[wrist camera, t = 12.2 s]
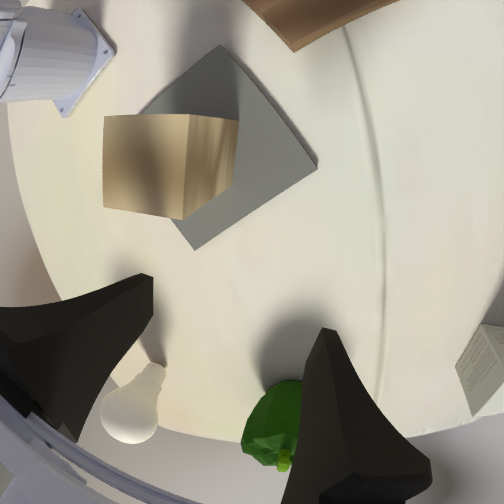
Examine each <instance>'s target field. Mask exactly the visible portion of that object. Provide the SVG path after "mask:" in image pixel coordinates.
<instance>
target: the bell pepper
mask: <svg viewBox="0 0 504 504" xmlns="http://www.w3.org/2000/svg"><path fill="white" fill-rule="evenodd" d="M301 395H302V382H299V381H295V380H288V381H281V382H280V383H278V384H276V385H275V386H273V387H272V388H270V389H269V390H268V391H267V392H266V394H265V395H264V396H263V397H262V398H261V399H260V400H259V402H258V403H257V405H256V406H255V408H254V410H253V411H252V413H251V414H250V416H249V418H248V419H247V423H246V426H245V429H244V432H243V435H242V439H241V446H242V450H243V452H244V453H246V454H249V455H252V456H253V457H254V458H255V459H256V460H258V461H259V462H260V463H261V464H262V465H263V466H273V465H274V466H277V470H278V471H279V472H286V471H287V470H288V469H289V467H290V465H291V466H292V463H293V458H294V454H295V449H296V445H297V440H298V434H299V426H300V411H301Z"/></svg>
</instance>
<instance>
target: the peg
mask: <svg viewBox="0 0 504 504" xmlns="http://www.w3.org/2000/svg"><path fill="white" fill-rule="evenodd" d="M238 128H239V121H236V120H230V119H223V118H215V117H208V116H199V115H190V114H139V115H118V116H104V130H103V205H104V207H106V208H112V209H119V210H125V211H131V212H137V213H143V214H149V215H155V216H161V217H167V218H173V219H178V220H184V219H185V218H186V217H188V216H189V215H191V214H192V213H193V212H195V211H196V210H198V209H199V208H200V207H202V206H203V205H205V204H206V203H207V202H209V201H210V200H212V199H213V198H215V197H216V196H218V195H219V194H220V193H222V192H223V191H225V190H226V189H228V188H229V187H231V186H232V182H233V173H234V164H235V155H236V146H237V137H238Z"/></svg>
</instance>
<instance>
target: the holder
mask: <svg viewBox="0 0 504 504" xmlns="http://www.w3.org/2000/svg"><path fill="white" fill-rule="evenodd" d="M242 1H243V2H244V3H245V4H246V5H248V6H249V7H250V8H251V9H252V10H253V11H254V12H255V13H256V14H257V15H258V16H259V17H260V18H261V19H262V20H263V21H264V22H265V23H266V24H267V25H268V26H269V27H270V28H271V29H272V30H273V31H274V32H275V33H276V34H277V35H278V36H279V37H280V38H281V39H282V40H283V41H284V42H285V44H286V45H287V46H288V47H289V48H290V49H291V50H292V51H293V53H294V52H296V51H298V50H299V49H301V48H303V47H304V46H306V45H308V44H309V43H311V42H313V41H315V40H316V39H318V38H320V37H322V36H324V35H325V34H327V33H329V32H331V31H333V30H335V29H337V28H339V27H341V26H343V25H345V24H347V23H349V22H351V21H353V20H355V19H357V18H359V17H361V16H363V15H366V14H368V13H370V12H372V11H375V10H377V9H379V8H382V7H384V6H387V5H389V4H392V3H394V2H397V1H399V0H242Z"/></svg>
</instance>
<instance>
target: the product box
mask: <svg viewBox="0 0 504 504" xmlns="http://www.w3.org/2000/svg"><path fill="white" fill-rule="evenodd" d="M455 369H456V371H457V374H458V376H459V379H460V382H461V385H462V387H463V390H464V393H465V396H466V399H467V402H468V405H469V408H470V411H471V415H472V417H478V416H486V415H488V416H490V415H495V414H498V413H504V327H503V326H495V325H488V324H480V325H479V327H478V329H477V331H476V333H475V334H474V336H473V338H472V340H471V341H470V343H469V345H468V347H467V348H466V350H465V352H464V353H463V355H462V356H461V358H460V359H459V361H458V362H457V364H456V366H455Z"/></svg>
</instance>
